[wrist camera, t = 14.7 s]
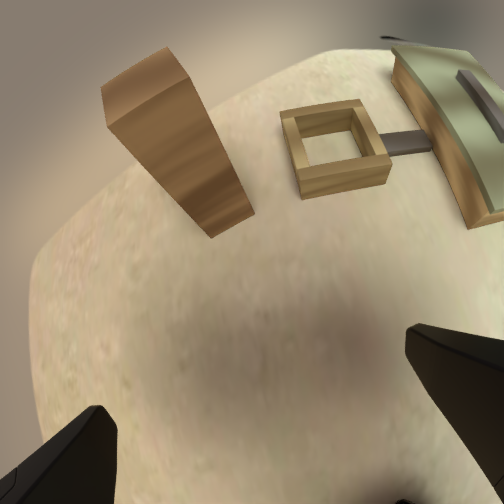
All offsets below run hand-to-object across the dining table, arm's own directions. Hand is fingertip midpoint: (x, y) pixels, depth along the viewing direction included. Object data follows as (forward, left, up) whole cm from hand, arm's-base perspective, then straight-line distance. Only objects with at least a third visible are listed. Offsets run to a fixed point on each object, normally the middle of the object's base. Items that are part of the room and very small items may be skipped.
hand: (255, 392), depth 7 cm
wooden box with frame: (+1, -22, -13) cm, 25 cm away
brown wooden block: (+12, -6, -13) cm, 19 cm away
